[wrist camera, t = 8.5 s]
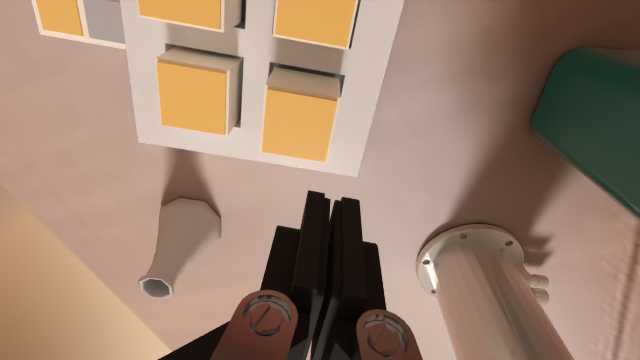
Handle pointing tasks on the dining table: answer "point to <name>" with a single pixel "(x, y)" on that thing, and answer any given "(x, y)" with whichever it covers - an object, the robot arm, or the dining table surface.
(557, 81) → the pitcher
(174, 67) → the button
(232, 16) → the button
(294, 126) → the button
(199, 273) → the dining table surface
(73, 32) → the card
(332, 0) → the button
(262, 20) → the button board
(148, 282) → the flask
